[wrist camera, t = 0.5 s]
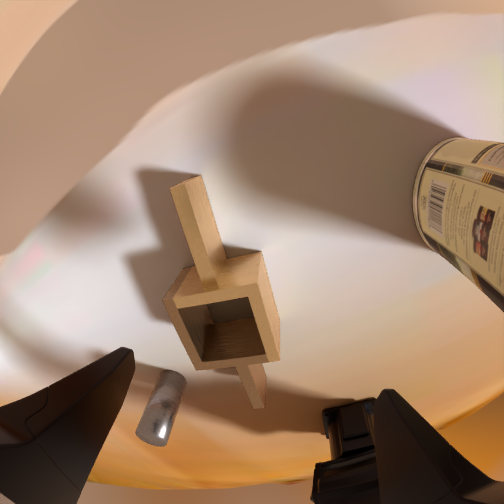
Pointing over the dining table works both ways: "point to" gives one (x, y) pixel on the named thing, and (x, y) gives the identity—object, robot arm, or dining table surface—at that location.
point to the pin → (161, 409)
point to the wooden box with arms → (221, 298)
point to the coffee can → (465, 209)
